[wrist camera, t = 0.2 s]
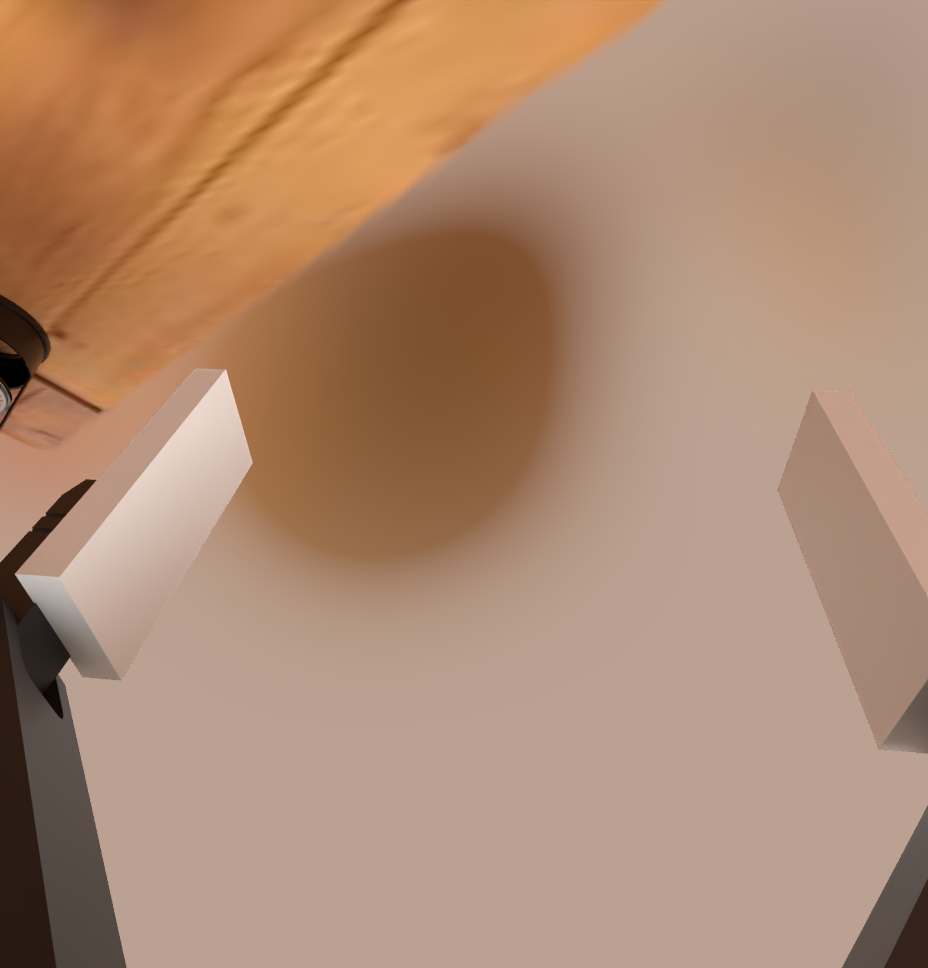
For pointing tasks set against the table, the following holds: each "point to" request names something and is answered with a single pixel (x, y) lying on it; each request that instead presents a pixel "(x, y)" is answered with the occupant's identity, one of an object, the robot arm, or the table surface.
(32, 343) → the french press
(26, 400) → the table surface
